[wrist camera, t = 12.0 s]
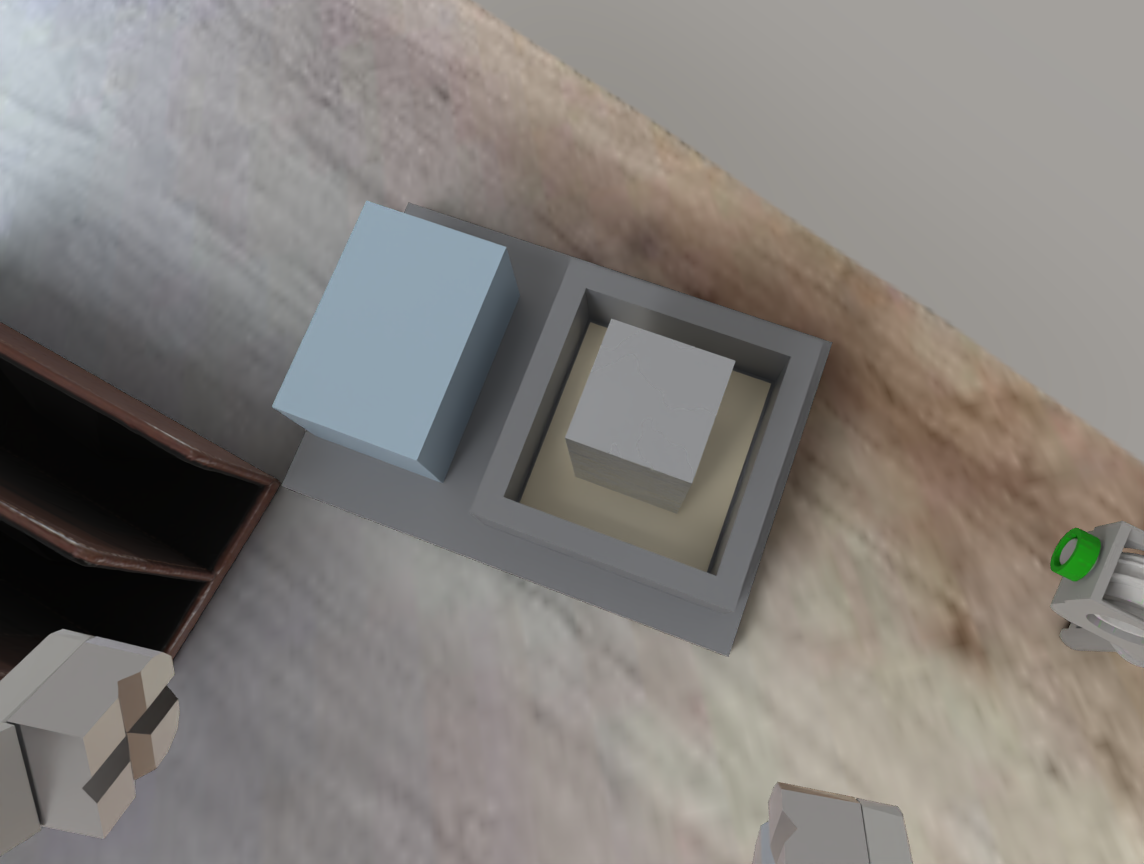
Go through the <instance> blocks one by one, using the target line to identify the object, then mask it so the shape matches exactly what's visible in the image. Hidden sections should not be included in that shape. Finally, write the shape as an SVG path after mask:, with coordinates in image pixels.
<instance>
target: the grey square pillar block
mask: <svg viewBox="0 0 1144 864" xmlns="http://www.w3.org/2000/svg"><path fill="white" fill-rule="evenodd" d="M734 364H735V360H732V359H729V358H726V357H723V356H720V355H717V354H714V353H711V352H708V351H705V350H702V349H699V348H696V347H693V346H691V345H688V344H685V343H682V342H679V341H676V340H673V339H670V338H667V337H664V336H661V335H658V334H655V333H652V332H649V331H646V330H643V329H641V328H638V327H635V326H632V325H629V324H626V323H623V322H620V321H617V320H614V319H611V321H610V323H609V326H608V328H607V331H606V333H605V336H604V339H603V341H602V344H601V346H600V349H599V351H598V354H597V357H596V359H595V362H594V364H593V367H592V369H591V372H590V375H589V377H588V380H587V382H586V385H585V387H584V390H583V393H582V395H581V398H580V400H579V403H578V405H577V408H576V411H575V413H574V416H573V418H572V421H571V423H570V426H569V429H568V431H567V434H566V436H565V440H566V443H567V447H568V451H569V455H570V458H571V462H572V466H573V470H574V473H575V477H578V478H580V479H583V480H586V481H589V482H591V483H594V484H597V485H599V486H602V487H605V488H608V489H610V490H613V491H616V492H619V493H621V494H624V495H627V496H630V497H632V498H635V499H638V500H640V501H643V502H646V503H649V504H651V505H654V506H657V507H660V508H662V509H665V510H668V511H670V512H673V513H676V514H677V513H678V511H679V509H680V507H681V505H682V503H683V501H684V499H685V497H686V495H687V493H688V491H689V489H690V487H691V485H692V482H693V480H694V477H695V474H696V471H697V468H698V466H699V463H700V460H701V457H702V454H703V451H704V449H705V446H706V443H707V440H708V437H709V435H710V432H711V429H712V426H713V423H714V420H715V418H716V415H717V412H718V409H719V406H720V403H721V401H722V398H723V395H724V392H725V389H726V387H727V384H728V381H729V378H730V375H731V372H732V370H733V367H734Z"/></svg>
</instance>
